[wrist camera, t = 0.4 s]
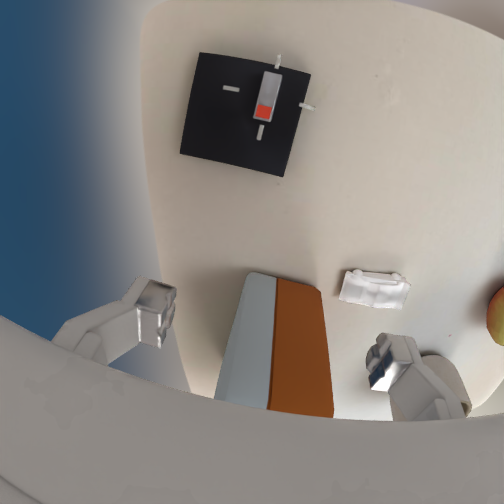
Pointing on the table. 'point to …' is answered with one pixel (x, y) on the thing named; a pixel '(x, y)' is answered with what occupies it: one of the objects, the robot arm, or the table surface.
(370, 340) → the table surface
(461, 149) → the table surface
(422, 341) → the table surface
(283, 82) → the black flat square piece
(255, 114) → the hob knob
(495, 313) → the apple
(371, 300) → the toy car
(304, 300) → the alarm clock
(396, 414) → the planter
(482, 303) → the table surface
